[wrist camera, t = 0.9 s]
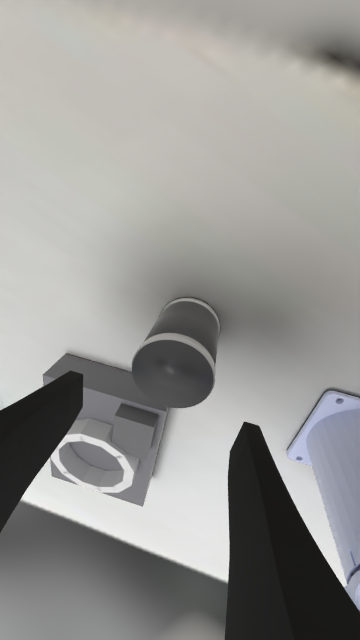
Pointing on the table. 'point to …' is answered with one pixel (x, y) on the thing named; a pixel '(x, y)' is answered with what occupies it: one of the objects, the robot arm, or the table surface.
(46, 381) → the camera body
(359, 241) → the table surface
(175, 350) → the lens
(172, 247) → the table surface
